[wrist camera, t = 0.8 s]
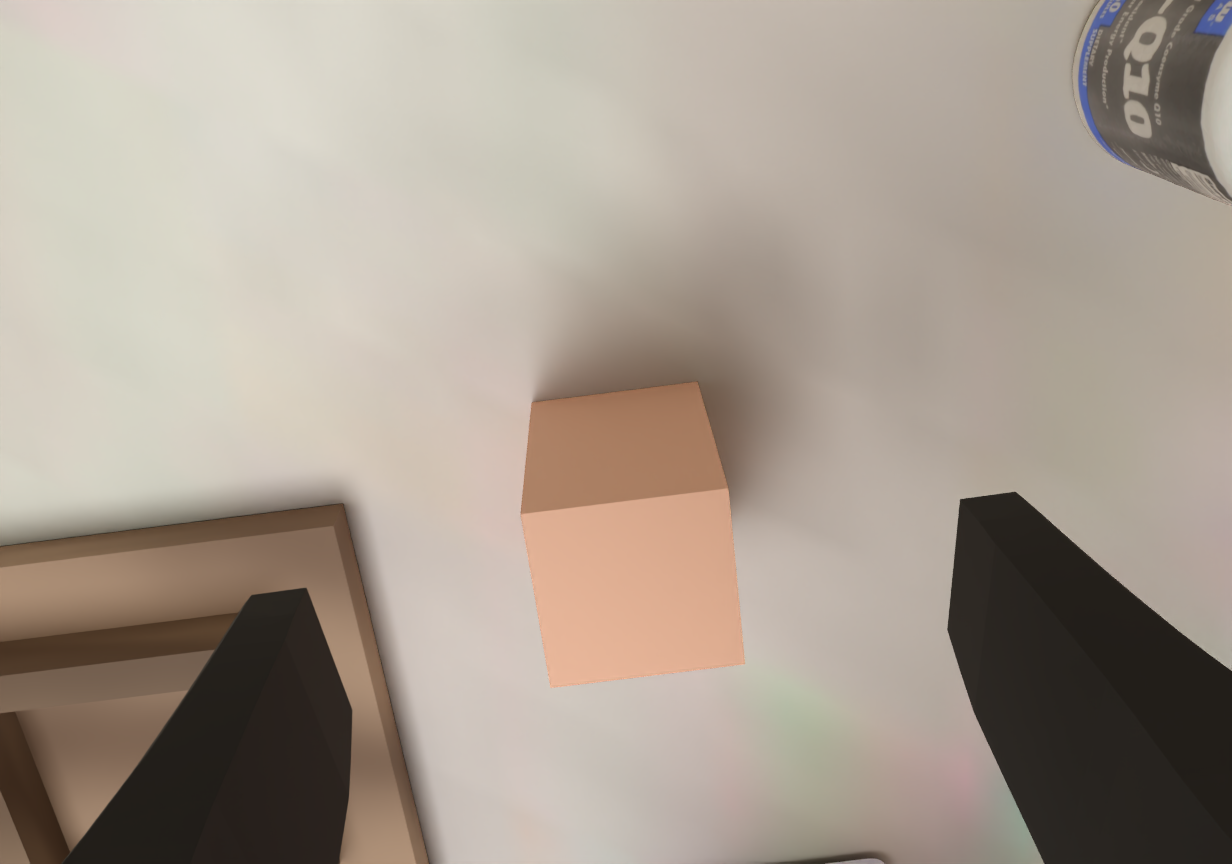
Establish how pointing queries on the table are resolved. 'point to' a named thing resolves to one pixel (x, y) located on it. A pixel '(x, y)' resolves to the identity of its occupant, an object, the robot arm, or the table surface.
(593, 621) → the terracotta block
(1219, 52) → the pill bottle
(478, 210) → the table surface
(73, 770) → the display stand
